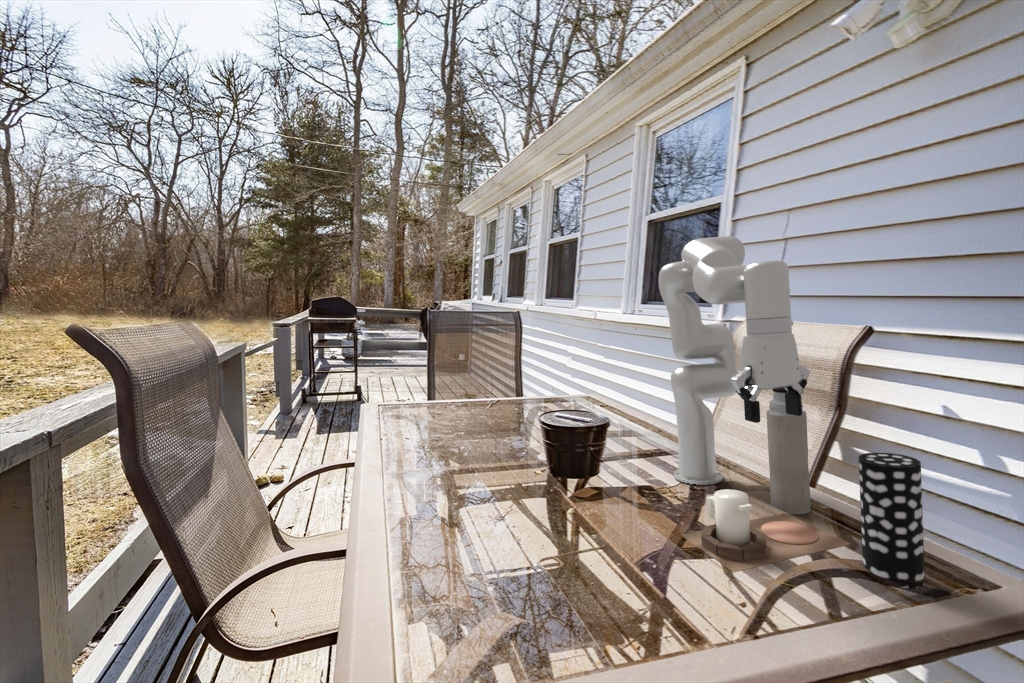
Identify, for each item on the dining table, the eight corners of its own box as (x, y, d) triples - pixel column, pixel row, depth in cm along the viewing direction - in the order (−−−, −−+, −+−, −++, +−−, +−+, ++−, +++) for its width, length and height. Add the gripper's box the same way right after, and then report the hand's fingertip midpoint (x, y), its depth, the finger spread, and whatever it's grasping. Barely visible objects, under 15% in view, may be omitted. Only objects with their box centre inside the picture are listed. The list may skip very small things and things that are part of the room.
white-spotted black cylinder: (911, 565, 86) (907, 453, 85) (934, 591, 79) (930, 468, 78) (856, 560, 89) (851, 452, 88) (872, 585, 81) (868, 466, 80)
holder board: (680, 540, 102) (679, 525, 102) (784, 518, 108) (783, 503, 108) (733, 578, 86) (732, 560, 86) (851, 550, 93) (850, 533, 93)
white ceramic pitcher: (763, 552, 92) (760, 499, 92) (735, 558, 91) (733, 505, 90) (724, 529, 103) (721, 482, 102) (699, 534, 101) (696, 486, 101)
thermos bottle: (803, 500, 117) (797, 383, 115) (816, 514, 109) (811, 389, 108) (766, 500, 118) (760, 385, 117) (777, 514, 111) (771, 390, 109)
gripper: (788, 324, 99) (793, 409, 99) (716, 331, 94) (721, 420, 94) (822, 324, 92) (826, 415, 92) (745, 331, 87) (751, 427, 87)
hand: (773, 418), depth 93 cm, fingers open, 9 cm apart
